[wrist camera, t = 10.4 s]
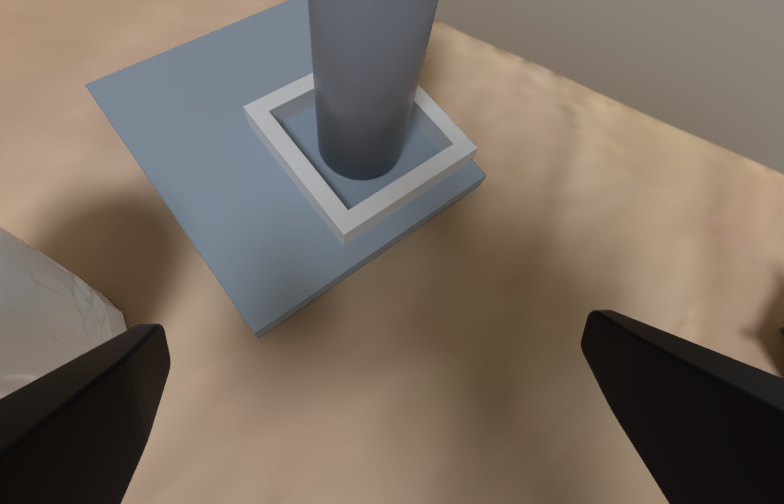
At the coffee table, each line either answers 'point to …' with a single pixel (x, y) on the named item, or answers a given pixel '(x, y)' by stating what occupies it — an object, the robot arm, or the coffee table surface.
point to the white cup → (46, 315)
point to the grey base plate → (273, 163)
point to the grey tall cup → (366, 79)
